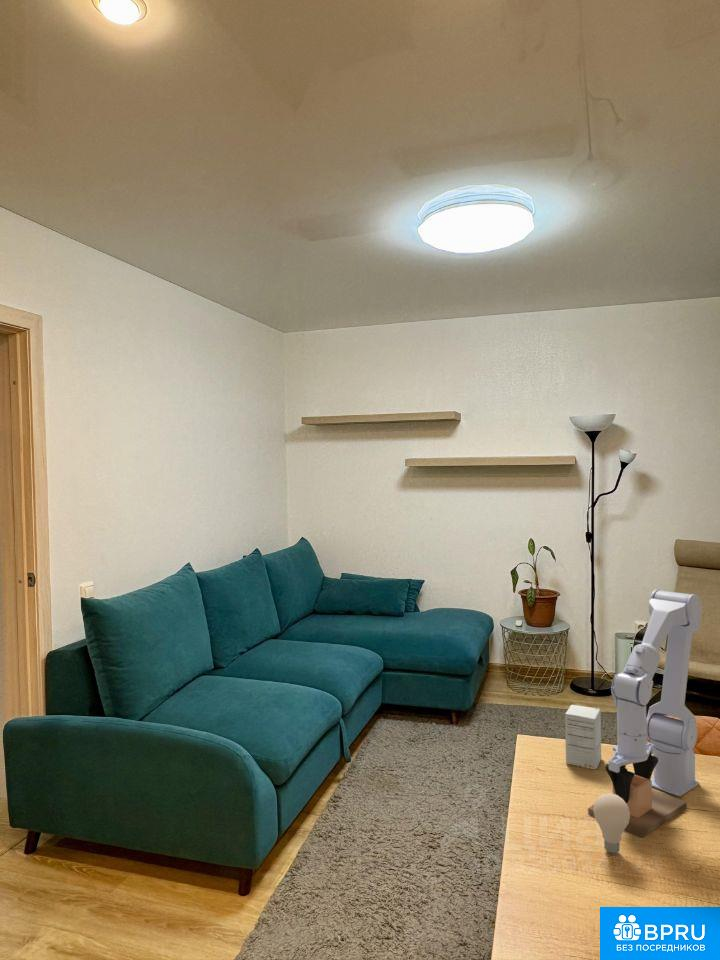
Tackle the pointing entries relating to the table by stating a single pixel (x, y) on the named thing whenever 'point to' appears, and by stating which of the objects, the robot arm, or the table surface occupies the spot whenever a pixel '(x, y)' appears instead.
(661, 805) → the duct board
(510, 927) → the table surface
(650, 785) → the duct sleeve
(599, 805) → the light bulb
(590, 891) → the table surface
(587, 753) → the supplement box
